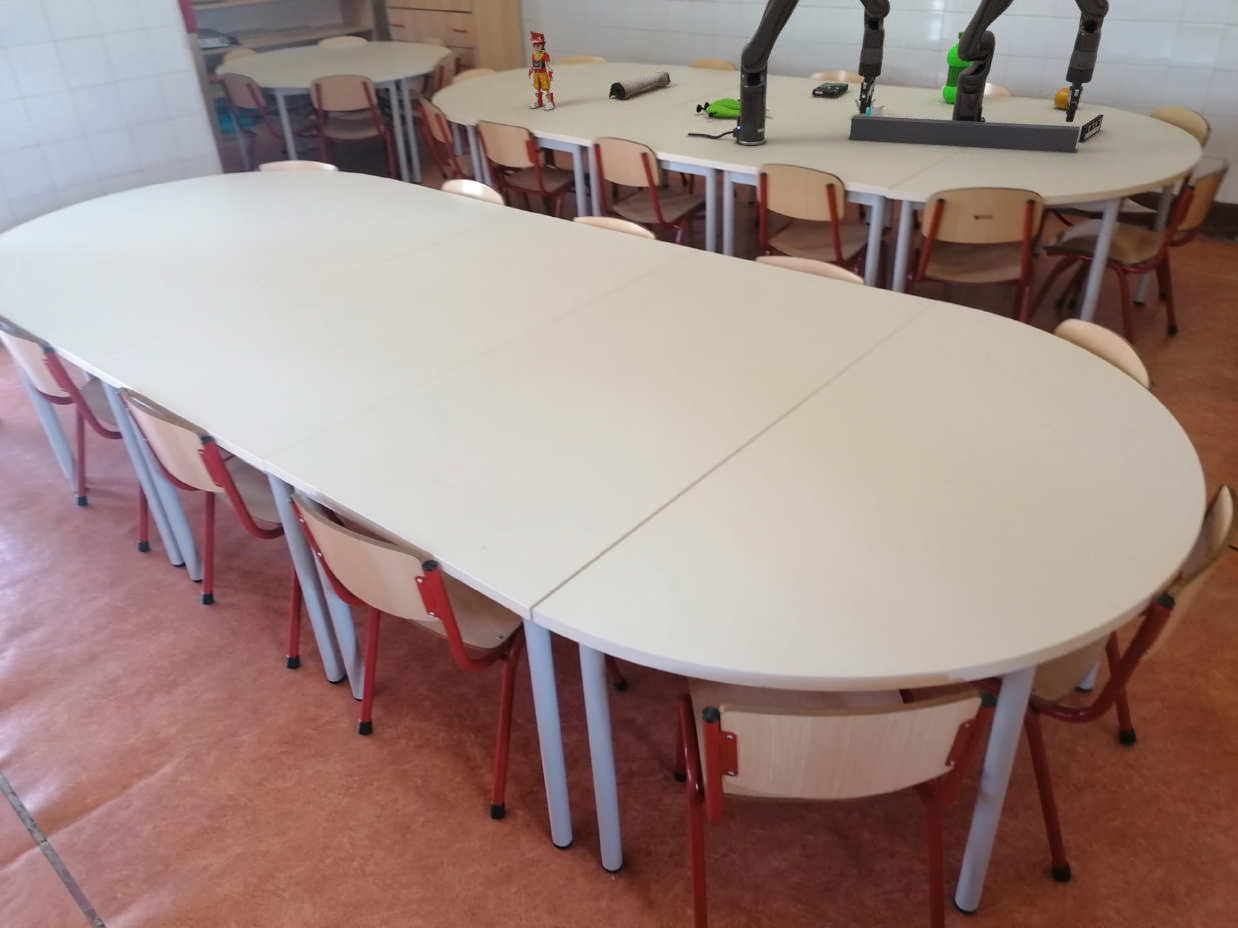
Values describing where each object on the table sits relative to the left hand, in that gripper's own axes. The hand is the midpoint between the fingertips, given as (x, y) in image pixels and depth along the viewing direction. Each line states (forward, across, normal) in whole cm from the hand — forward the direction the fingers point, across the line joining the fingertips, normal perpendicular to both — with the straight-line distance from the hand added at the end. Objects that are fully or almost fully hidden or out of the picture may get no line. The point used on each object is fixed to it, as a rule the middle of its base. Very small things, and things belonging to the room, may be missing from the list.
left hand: (865, 110), depth 315 cm
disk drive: (+10, -64, -25) cm, 69 cm away
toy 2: (+11, -23, -54) cm, 59 cm away
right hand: (-2, -1, +66) cm, 66 cm away
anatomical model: (+10, -30, -3) cm, 31 cm away
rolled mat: (+12, -52, -107) cm, 120 cm away
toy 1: (+12, -19, -138) cm, 140 cm away
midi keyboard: (+8, -19, +74) cm, 77 cm away
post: (+9, 0, +33) cm, 34 cm away
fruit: (+8, -56, +65) cm, 86 cm away
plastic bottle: (+9, -58, +25) cm, 64 cm away
